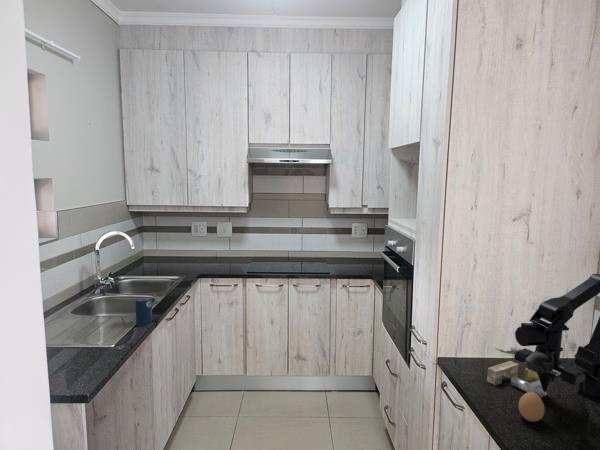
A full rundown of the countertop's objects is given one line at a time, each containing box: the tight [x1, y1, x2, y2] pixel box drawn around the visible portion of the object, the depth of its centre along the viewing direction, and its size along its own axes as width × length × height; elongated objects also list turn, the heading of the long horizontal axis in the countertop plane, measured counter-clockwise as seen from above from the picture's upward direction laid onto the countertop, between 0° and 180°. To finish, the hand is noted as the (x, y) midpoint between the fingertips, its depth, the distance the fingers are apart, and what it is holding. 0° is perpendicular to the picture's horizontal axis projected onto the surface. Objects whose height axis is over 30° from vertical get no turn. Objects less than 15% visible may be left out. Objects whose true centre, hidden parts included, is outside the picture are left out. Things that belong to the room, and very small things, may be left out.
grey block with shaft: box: [510, 376, 548, 399], centre depth 132 cm, size 9×7×5 cm
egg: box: [518, 392, 545, 423], centre depth 116 cm, size 6×6×8 cm
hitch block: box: [486, 360, 520, 386], centre depth 139 cm, size 3×12×5 cm, turn 118°
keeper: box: [523, 367, 540, 383], centre depth 138 cm, size 1×7×5 cm, turn 118°
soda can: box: [134, 296, 153, 328], centre depth 183 cm, size 7×7×12 cm
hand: (545, 391), depth 126 cm, fingers closed
